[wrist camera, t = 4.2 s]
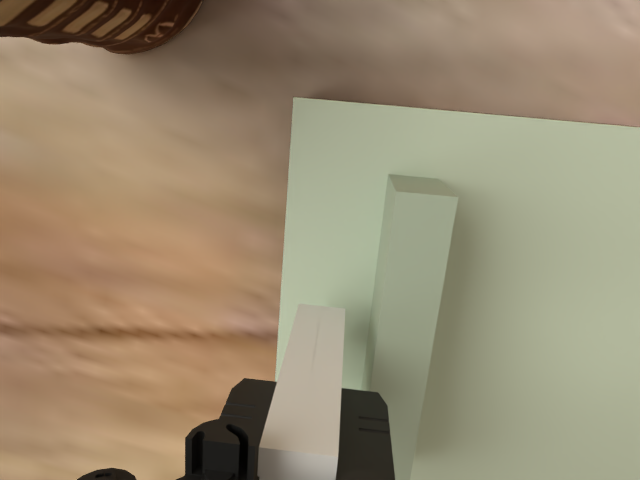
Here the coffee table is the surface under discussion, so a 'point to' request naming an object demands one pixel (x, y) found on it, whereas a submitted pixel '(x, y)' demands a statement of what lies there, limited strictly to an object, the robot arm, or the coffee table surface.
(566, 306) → the lid
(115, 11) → the coffee cup
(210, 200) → the coffee table surface
